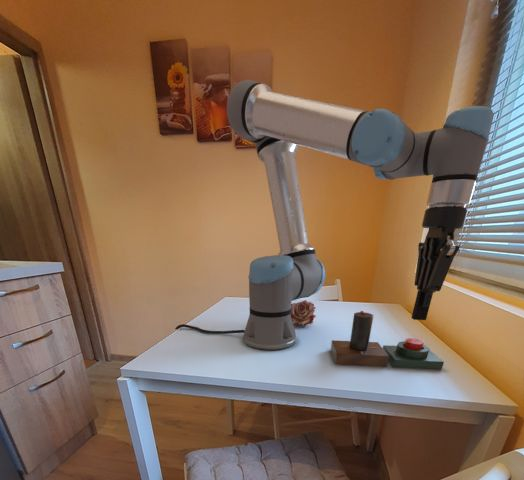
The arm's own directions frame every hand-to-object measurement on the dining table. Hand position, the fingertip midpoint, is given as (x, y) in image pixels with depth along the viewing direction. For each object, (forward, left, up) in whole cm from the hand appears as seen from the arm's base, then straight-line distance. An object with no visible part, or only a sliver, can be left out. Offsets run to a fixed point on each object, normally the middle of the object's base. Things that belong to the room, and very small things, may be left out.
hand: (418, 318), depth 66 cm
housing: (0, 0, -11) cm, 11 cm away
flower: (-26, +26, -11) cm, 38 cm away
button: (0, 0, -7) cm, 7 cm away
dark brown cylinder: (-13, 0, -8) cm, 15 cm away
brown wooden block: (-13, 0, -11) cm, 17 cm away
